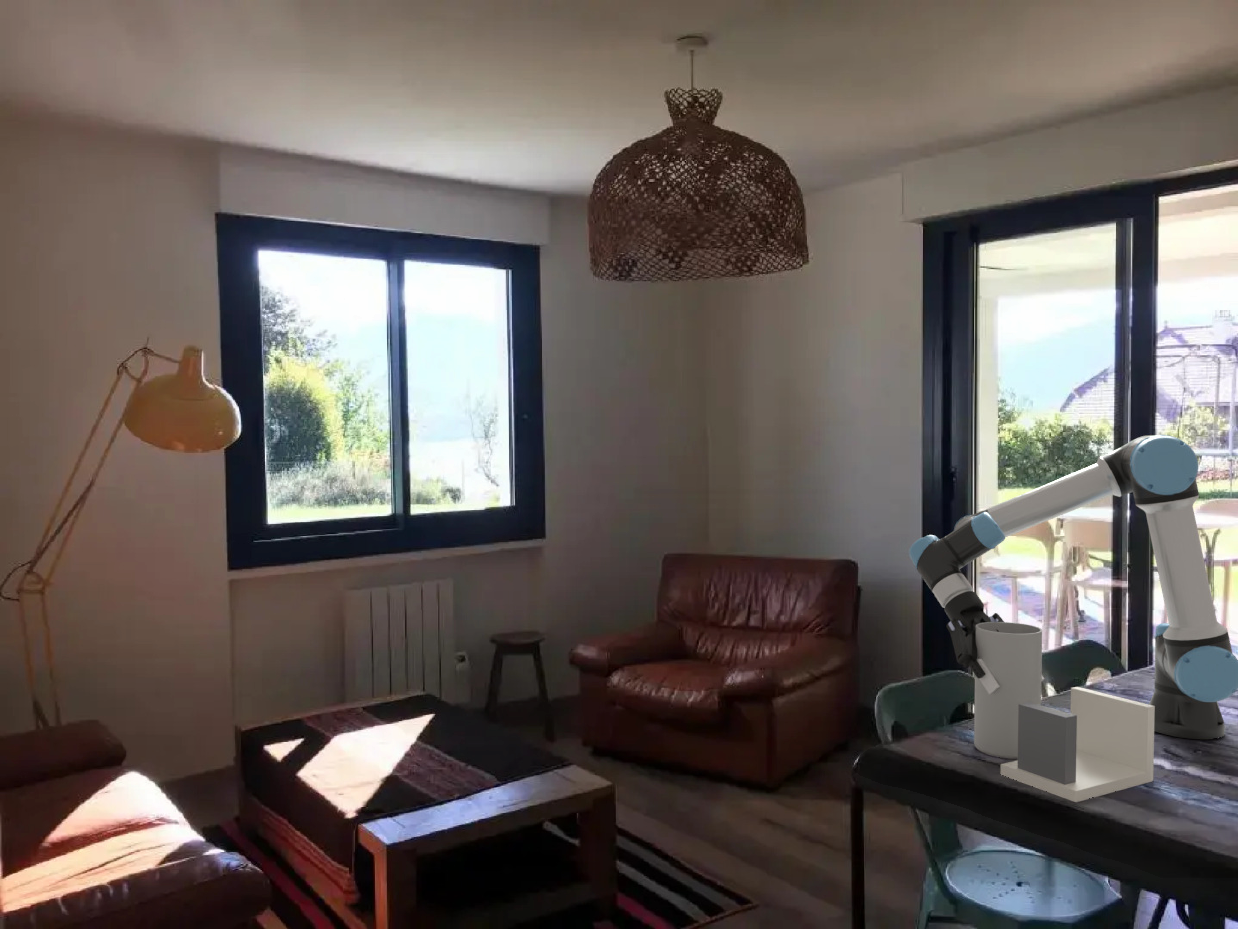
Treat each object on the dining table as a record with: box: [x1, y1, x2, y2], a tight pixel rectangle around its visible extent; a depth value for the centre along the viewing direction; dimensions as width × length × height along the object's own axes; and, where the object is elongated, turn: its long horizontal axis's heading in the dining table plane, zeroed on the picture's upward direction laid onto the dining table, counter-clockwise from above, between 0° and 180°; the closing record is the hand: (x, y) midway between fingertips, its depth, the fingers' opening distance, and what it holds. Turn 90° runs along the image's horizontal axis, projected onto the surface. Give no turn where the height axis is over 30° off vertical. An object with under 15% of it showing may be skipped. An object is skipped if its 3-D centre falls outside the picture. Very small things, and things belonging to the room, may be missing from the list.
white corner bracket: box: [1000, 686, 1155, 803], centre depth 186 cm, size 22×16×14 cm
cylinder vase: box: [973, 621, 1043, 760], centre depth 201 cm, size 12×12×25 cm
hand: (1017, 686), depth 199 cm, fingers closed on cylinder vase, 12 cm apart
